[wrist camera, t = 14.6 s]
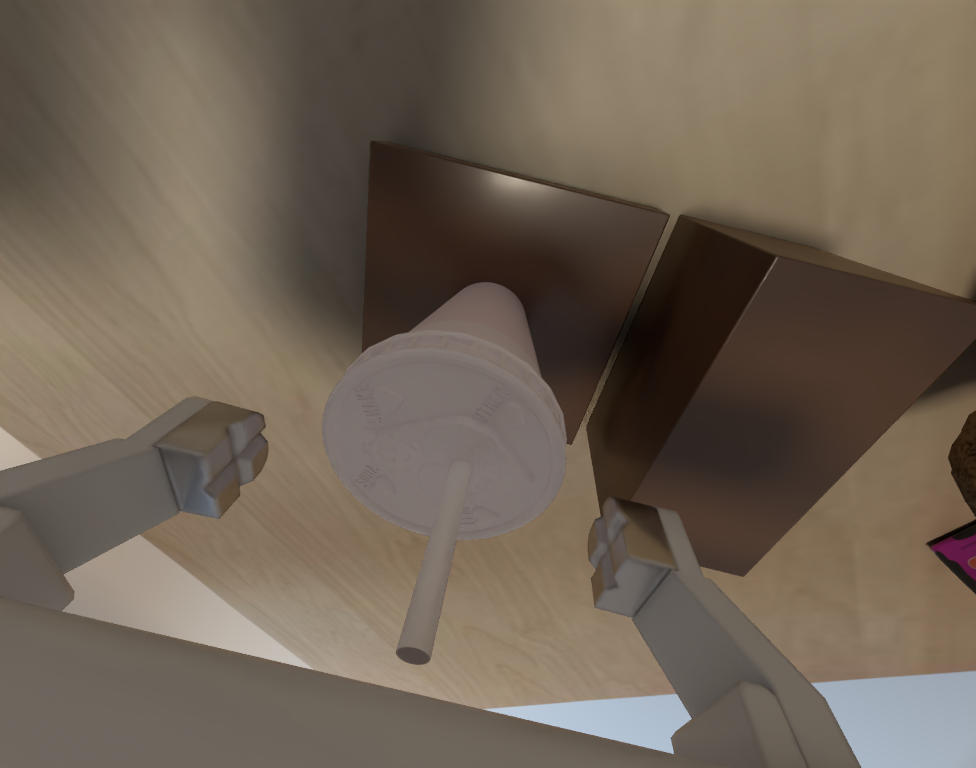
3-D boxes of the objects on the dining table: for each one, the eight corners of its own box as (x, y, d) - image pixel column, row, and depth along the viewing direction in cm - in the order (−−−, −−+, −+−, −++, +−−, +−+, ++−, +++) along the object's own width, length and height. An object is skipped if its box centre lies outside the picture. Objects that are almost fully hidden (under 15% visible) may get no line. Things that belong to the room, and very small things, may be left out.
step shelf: (387, 141, 16) (278, 131, 10) (814, 247, 17) (1005, 311, 10) (373, 375, 23) (301, 469, 16) (683, 451, 23) (744, 577, 16)
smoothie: (536, 392, 20) (529, 759, 8) (414, 365, 20) (218, 688, 8) (573, 267, 16) (663, 575, 4) (426, 236, 16) (113, 452, 4)
